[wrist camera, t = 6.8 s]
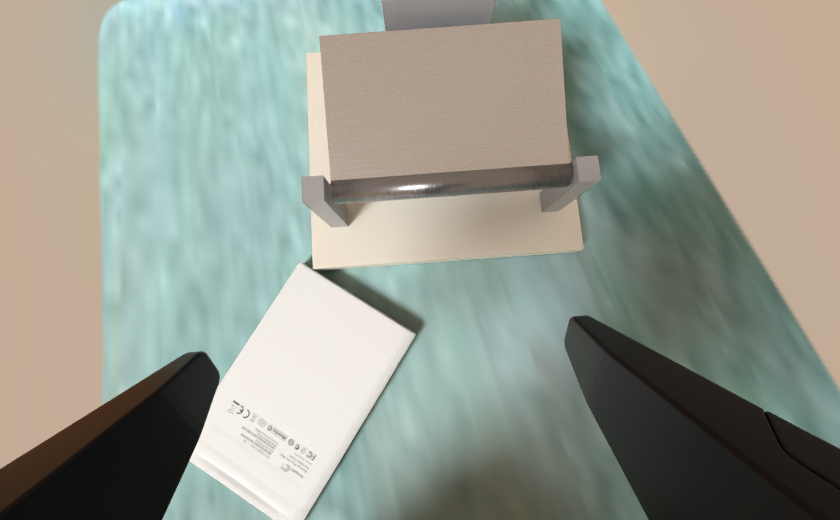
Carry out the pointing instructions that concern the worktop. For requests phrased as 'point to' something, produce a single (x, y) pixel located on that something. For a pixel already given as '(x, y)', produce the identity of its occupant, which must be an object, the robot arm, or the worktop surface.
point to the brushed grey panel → (445, 111)
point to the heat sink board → (439, 216)
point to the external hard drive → (299, 394)
